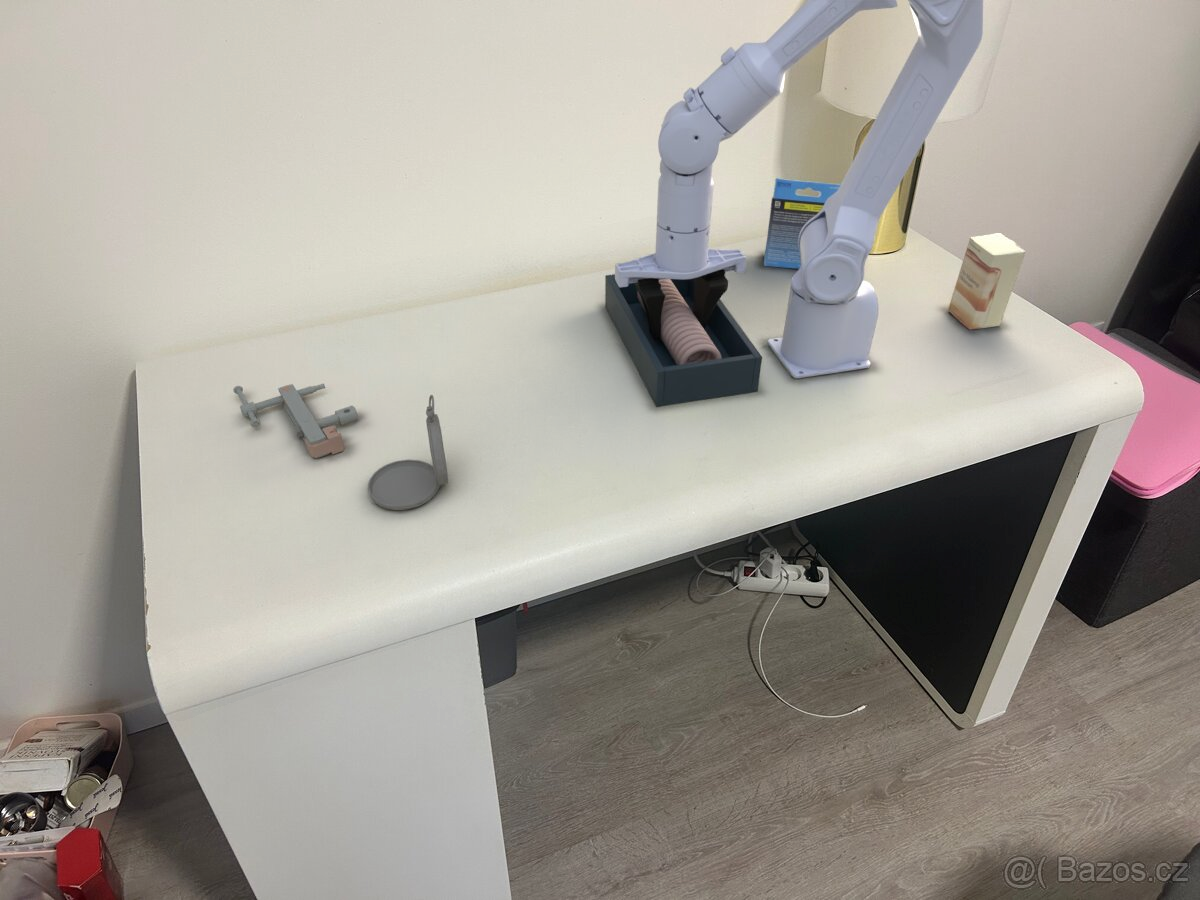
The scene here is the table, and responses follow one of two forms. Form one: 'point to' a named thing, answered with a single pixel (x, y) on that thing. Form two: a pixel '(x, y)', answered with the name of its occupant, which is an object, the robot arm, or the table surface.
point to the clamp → (304, 418)
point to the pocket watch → (412, 474)
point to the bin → (691, 379)
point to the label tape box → (792, 219)
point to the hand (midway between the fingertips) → (676, 332)
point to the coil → (683, 329)
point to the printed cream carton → (986, 280)
